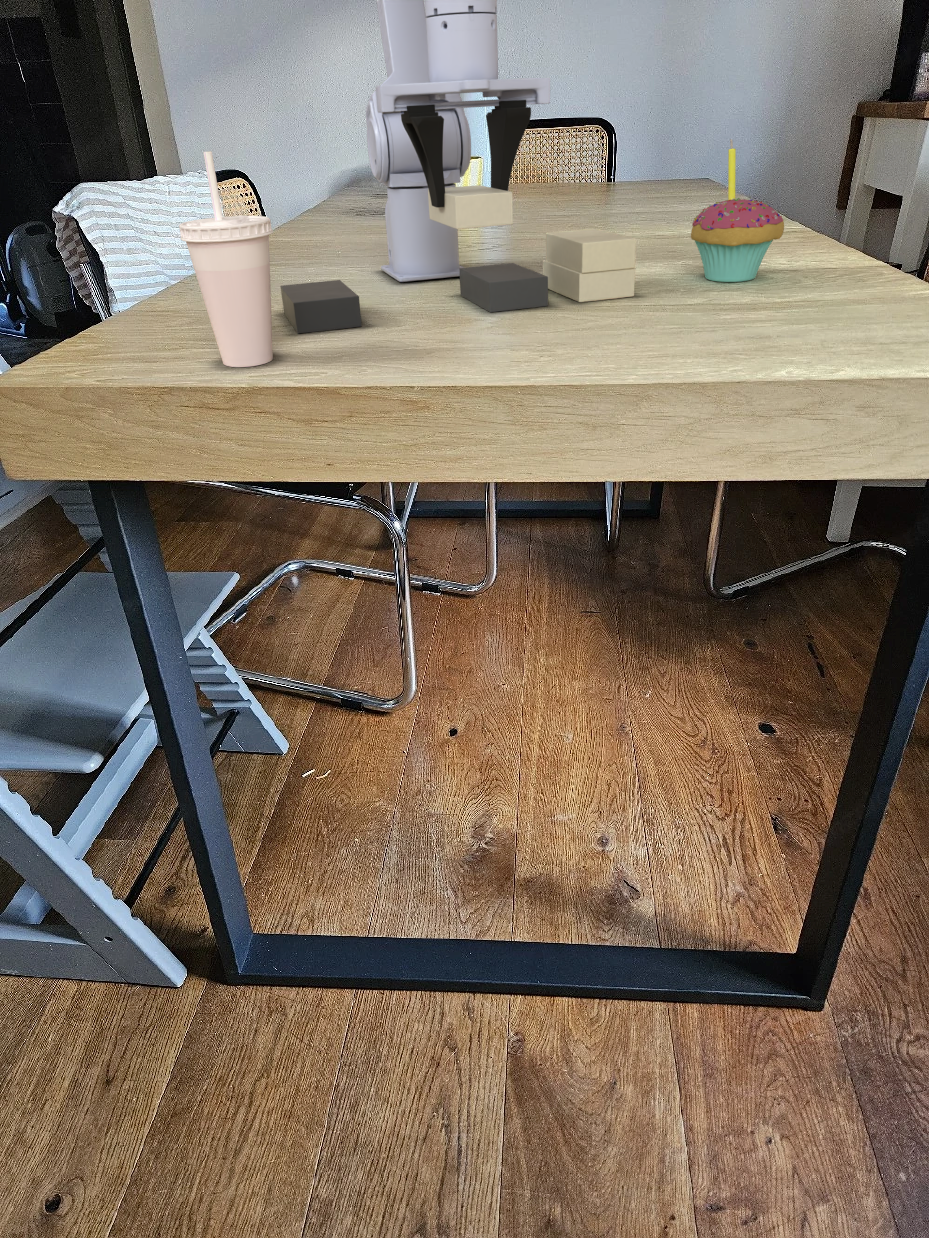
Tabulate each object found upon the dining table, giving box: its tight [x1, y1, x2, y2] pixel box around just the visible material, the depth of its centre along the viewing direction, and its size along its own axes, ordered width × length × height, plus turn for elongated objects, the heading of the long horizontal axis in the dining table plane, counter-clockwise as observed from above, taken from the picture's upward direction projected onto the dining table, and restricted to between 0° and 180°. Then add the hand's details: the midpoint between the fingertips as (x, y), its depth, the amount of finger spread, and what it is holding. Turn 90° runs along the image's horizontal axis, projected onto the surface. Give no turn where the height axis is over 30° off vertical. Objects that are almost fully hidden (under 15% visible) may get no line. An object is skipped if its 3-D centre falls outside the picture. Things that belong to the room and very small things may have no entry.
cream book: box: [428, 184, 514, 230], centre depth 78 cm, size 9×5×2 cm, turn 17°
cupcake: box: [690, 138, 785, 283], centre depth 84 cm, size 9×8×12 cm
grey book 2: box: [459, 262, 549, 313], centre depth 82 cm, size 9×6×2 cm, turn 17°
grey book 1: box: [279, 279, 363, 335], centre depth 78 cm, size 9×6×2 cm, turn 17°
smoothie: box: [178, 150, 274, 368], centre depth 63 cm, size 6×6×14 cm
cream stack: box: [542, 227, 637, 303], centre depth 83 cm, size 9×6×5 cm, turn 17°
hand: (468, 204), depth 78 cm, fingers closed on cream book, 5 cm apart
